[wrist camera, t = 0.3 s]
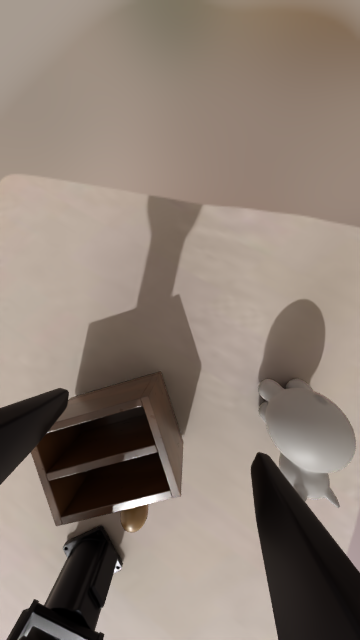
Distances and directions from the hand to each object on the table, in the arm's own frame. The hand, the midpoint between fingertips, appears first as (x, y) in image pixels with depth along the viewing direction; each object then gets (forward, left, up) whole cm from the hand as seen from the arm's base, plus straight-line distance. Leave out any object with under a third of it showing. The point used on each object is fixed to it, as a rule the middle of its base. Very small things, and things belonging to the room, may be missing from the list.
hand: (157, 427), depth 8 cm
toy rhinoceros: (+7, -14, -15) cm, 22 cm away
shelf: (-11, -7, -15) cm, 20 cm away
